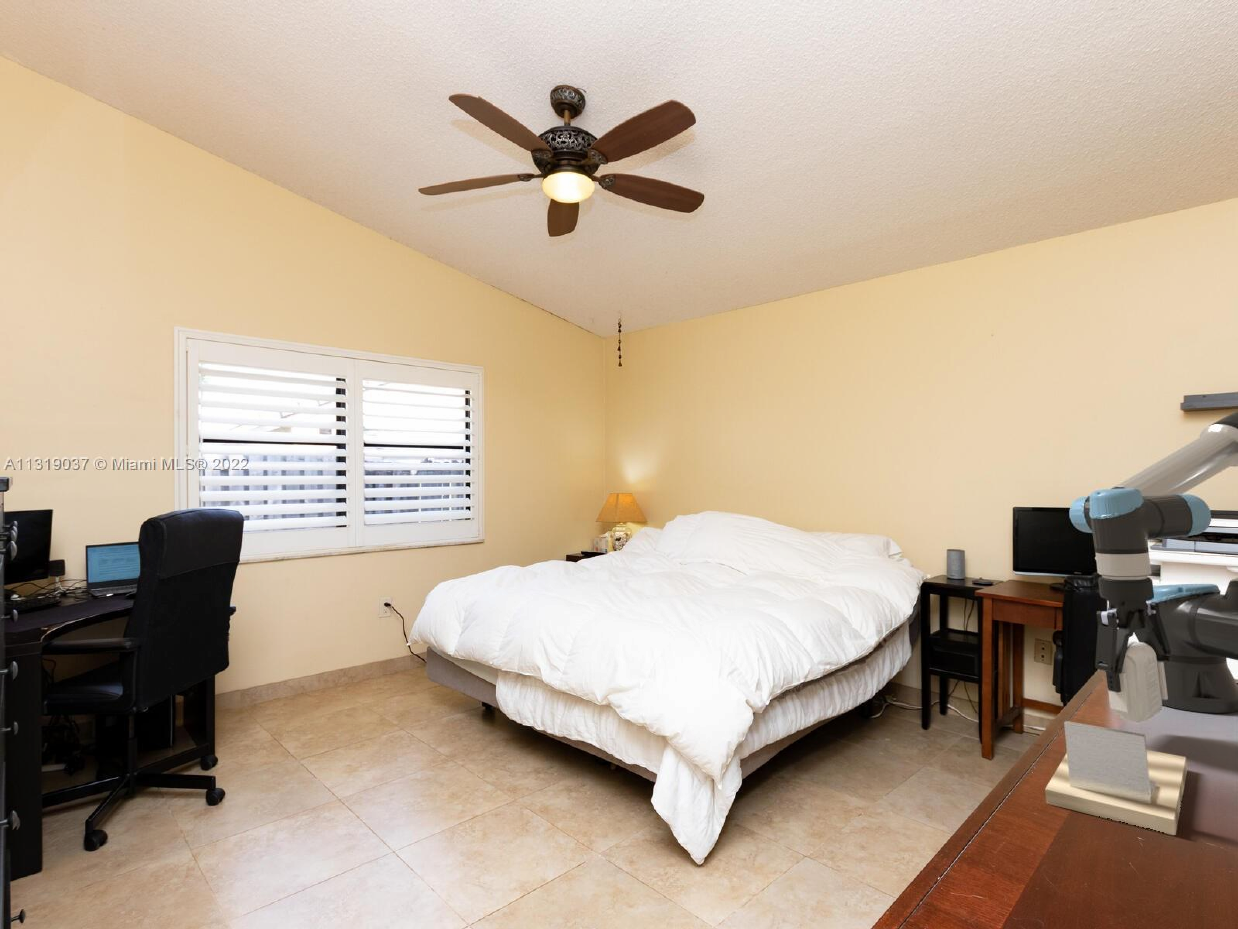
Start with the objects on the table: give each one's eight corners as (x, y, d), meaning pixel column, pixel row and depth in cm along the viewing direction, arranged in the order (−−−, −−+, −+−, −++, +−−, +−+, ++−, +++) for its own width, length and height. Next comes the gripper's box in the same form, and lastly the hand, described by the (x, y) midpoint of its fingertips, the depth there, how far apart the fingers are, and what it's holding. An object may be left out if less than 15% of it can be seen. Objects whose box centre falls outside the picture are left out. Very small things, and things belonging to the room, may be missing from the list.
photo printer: (1136, 704, 115) (1128, 635, 116) (1166, 709, 112) (1157, 639, 112) (1114, 719, 110) (1105, 647, 110) (1144, 725, 106) (1135, 651, 107)
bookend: (1079, 769, 96) (1073, 709, 97) (1156, 785, 90) (1149, 721, 90) (1070, 786, 91) (1064, 723, 92) (1150, 805, 85) (1144, 736, 85)
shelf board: (1077, 748, 108) (1076, 737, 108) (1187, 770, 98) (1185, 757, 98) (1046, 803, 91) (1045, 789, 91) (1175, 835, 81) (1173, 819, 81)
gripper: (1139, 567, 120) (1153, 686, 118) (1060, 582, 111) (1075, 710, 110) (1186, 570, 113) (1202, 696, 112) (1107, 586, 104) (1123, 724, 103)
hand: (1139, 703), depth 111 cm, fingers closed on photo printer, 10 cm apart
